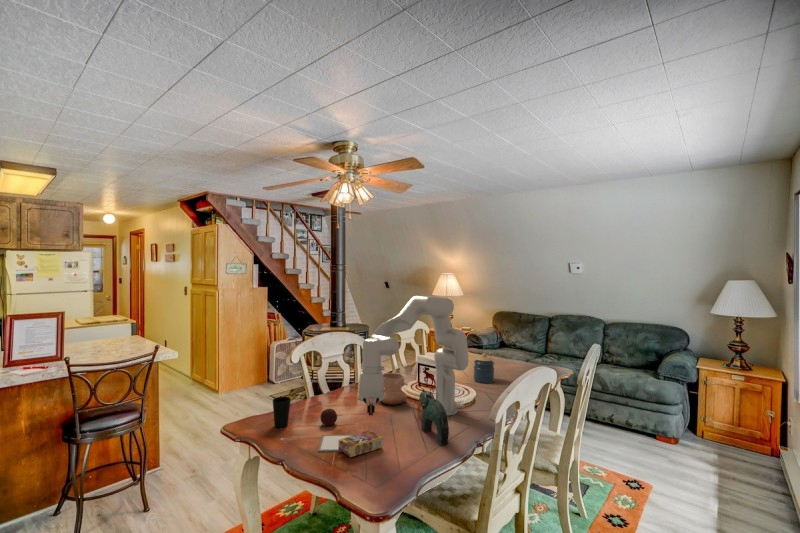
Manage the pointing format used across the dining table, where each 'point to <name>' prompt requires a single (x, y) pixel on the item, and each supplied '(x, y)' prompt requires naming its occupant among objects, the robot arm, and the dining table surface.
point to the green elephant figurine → (434, 416)
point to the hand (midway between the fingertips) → (370, 414)
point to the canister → (484, 369)
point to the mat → (330, 443)
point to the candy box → (360, 443)
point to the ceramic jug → (394, 388)
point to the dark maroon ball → (328, 417)
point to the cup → (281, 411)
